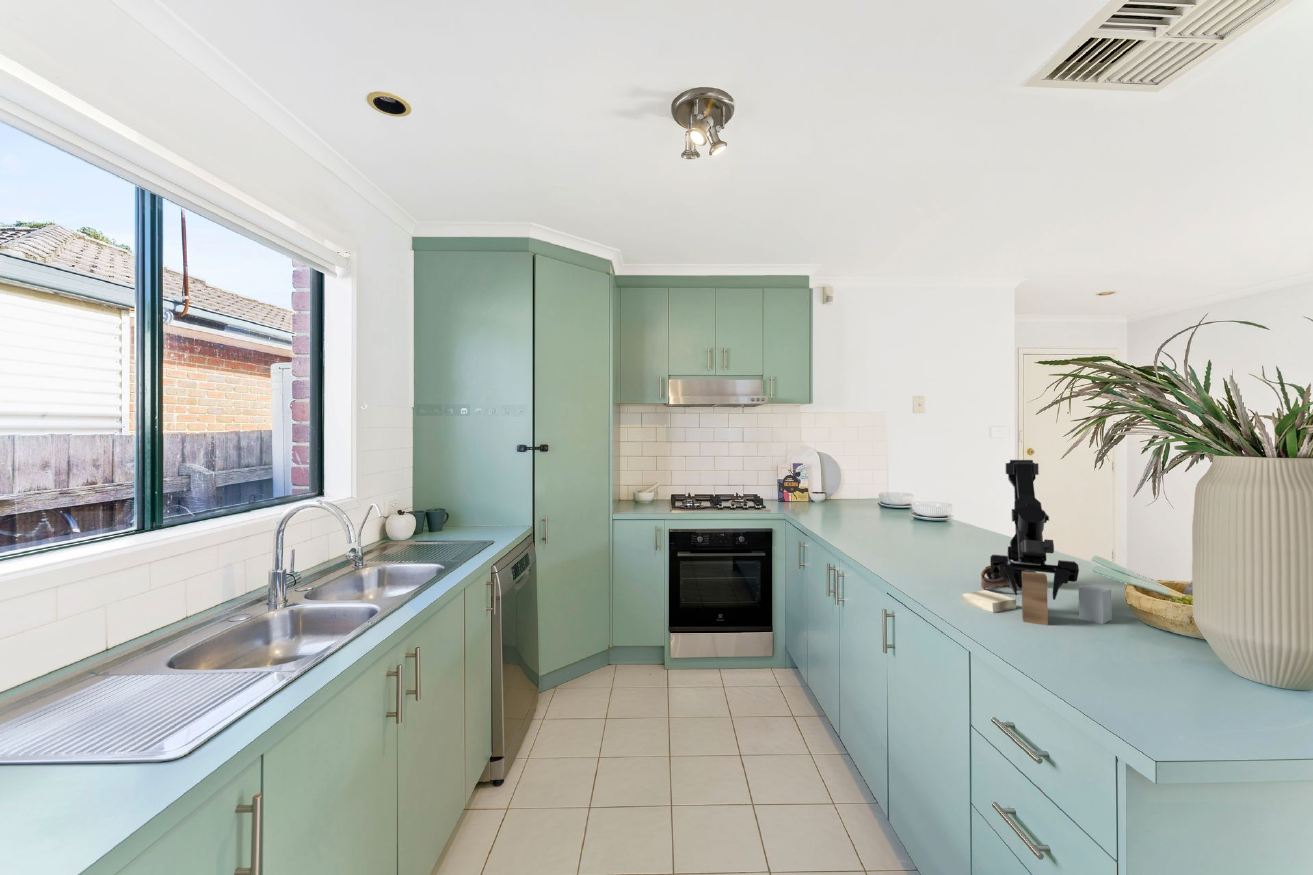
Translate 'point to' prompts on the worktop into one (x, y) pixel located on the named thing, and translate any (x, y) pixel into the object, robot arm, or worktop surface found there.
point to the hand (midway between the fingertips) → (1034, 596)
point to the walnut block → (1034, 598)
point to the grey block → (1095, 603)
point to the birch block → (989, 601)
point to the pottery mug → (992, 580)
